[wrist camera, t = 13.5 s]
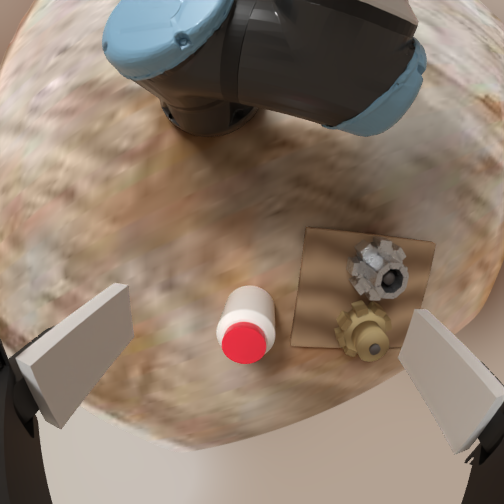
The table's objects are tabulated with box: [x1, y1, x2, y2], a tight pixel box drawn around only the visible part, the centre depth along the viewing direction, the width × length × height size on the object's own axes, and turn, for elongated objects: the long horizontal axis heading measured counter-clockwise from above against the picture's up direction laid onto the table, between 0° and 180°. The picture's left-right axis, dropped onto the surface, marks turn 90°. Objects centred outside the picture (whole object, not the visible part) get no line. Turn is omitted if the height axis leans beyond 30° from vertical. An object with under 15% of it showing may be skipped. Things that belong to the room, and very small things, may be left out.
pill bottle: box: [216, 286, 275, 364], centre depth 37 cm, size 8×8×11 cm
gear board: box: [290, 227, 436, 362], centre depth 36 cm, size 19×22×9 cm
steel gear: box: [346, 236, 409, 301], centre depth 34 cm, size 9×9×7 cm
